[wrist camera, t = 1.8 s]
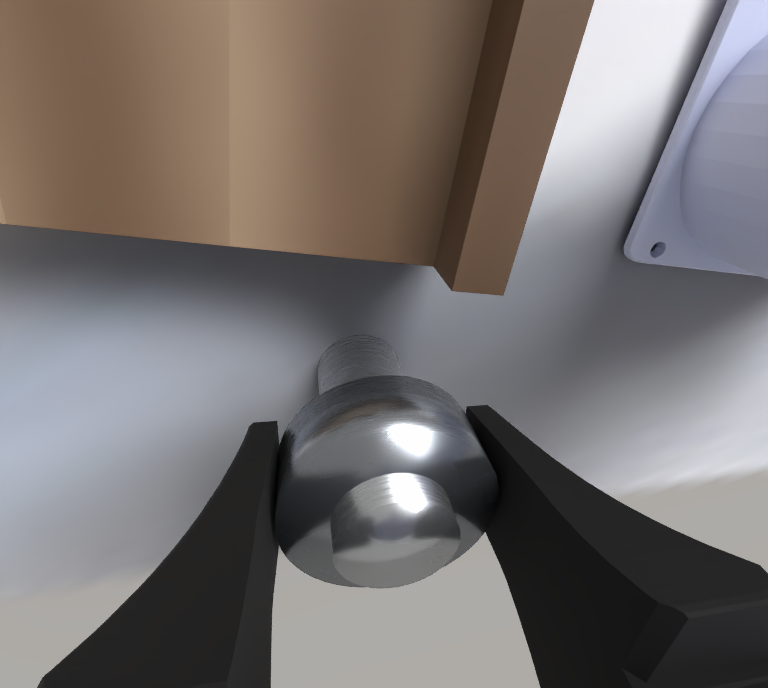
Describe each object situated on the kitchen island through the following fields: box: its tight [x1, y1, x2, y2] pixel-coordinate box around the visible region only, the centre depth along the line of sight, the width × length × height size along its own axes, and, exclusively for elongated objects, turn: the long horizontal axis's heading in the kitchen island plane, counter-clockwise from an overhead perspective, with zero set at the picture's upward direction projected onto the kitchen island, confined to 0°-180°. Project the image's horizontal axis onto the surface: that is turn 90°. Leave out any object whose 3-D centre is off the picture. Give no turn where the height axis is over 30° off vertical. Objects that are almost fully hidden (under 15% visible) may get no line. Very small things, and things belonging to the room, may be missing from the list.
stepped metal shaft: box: [275, 335, 499, 588], centre depth 13 cm, size 5×5×7 cm
